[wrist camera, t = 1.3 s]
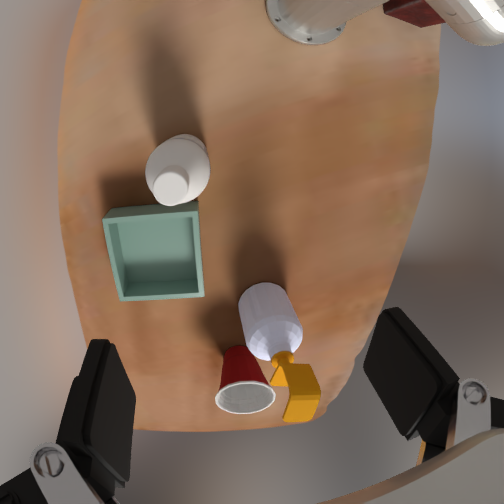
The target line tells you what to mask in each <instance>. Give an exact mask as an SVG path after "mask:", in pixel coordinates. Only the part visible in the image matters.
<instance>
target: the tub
mask: <svg viewBox="0 0 504 504" xmlns="http://www.w3.org/2000/svg"><path fill="white" fill-rule="evenodd" d="M102 221H103V227H104V232H105V238H106V243H107V248H108V253H109V257H110V262H111V267H112V271H113V275H114V279H115V284H116V288H117V291H118V295H119V299H120V301H138V300H158V299H176V298H192V297H205V295H204V277H203V265H202V252H201V238H200V223H199V206H198V201H190V202H186V203H181V204H177V205H174V206H166V205H163V204H151V205H139V206H129V207H119V208H111V210H110V211H109V212H108V213H107V214H106V215H105V216H104V217H103V219H102Z"/></svg>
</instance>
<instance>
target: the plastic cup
mask: <svg viewBox="0 0 504 504" xmlns="http://www.w3.org/2000/svg"><path fill="white" fill-rule="evenodd" d="M275 396H276V394H275V392H274V391H273V389H272V387H270V386H269V384H268V382H267V380H266V378H265V377H264V375H263V373H262V370H261V368H260V366H259V364H258V362H257V361H256V359H255V357H254V355H253V354H252V353H251V352H250V350H249V349H248V347H246V346H241V345H240V346H234V347H231V348H229V349H228V350H227V351H226V352H225V354H224V360H223V366H222V376H221V385H220V389H219V392H218V393H217V394H216V396H215V400H216V404H217V405H218V406H219V407H220V408H221V409H223V410H225V411H227V412H230V413H236V414H250V413H254V412H258V411H261V410H263V409H265V408H267V407H269V406H270V405H271V404H272V403H273V402H274V401H275Z"/></svg>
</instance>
